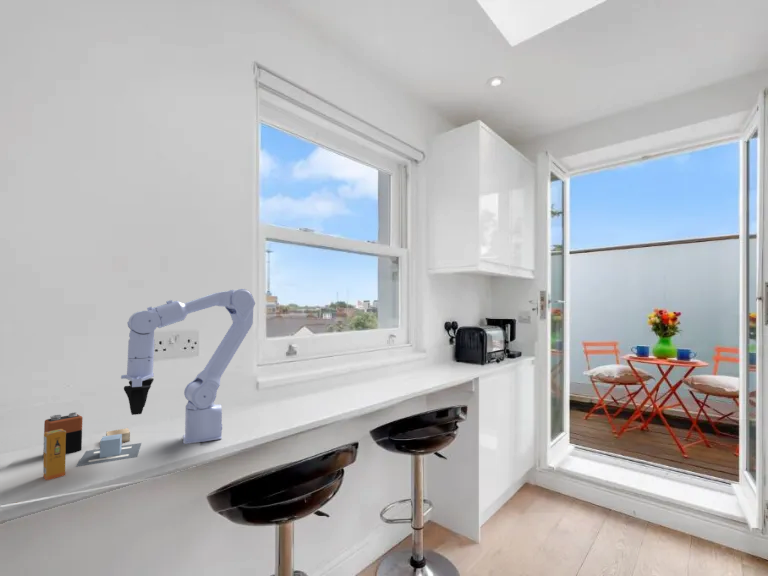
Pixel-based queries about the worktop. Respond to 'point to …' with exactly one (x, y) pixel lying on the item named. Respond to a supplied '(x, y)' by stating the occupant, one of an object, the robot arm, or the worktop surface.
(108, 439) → the blue cube
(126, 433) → the oak block
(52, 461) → the supplement box
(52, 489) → the worktop surface
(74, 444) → the battery
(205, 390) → the robot arm
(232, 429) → the worktop surface
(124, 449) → the letter mat
